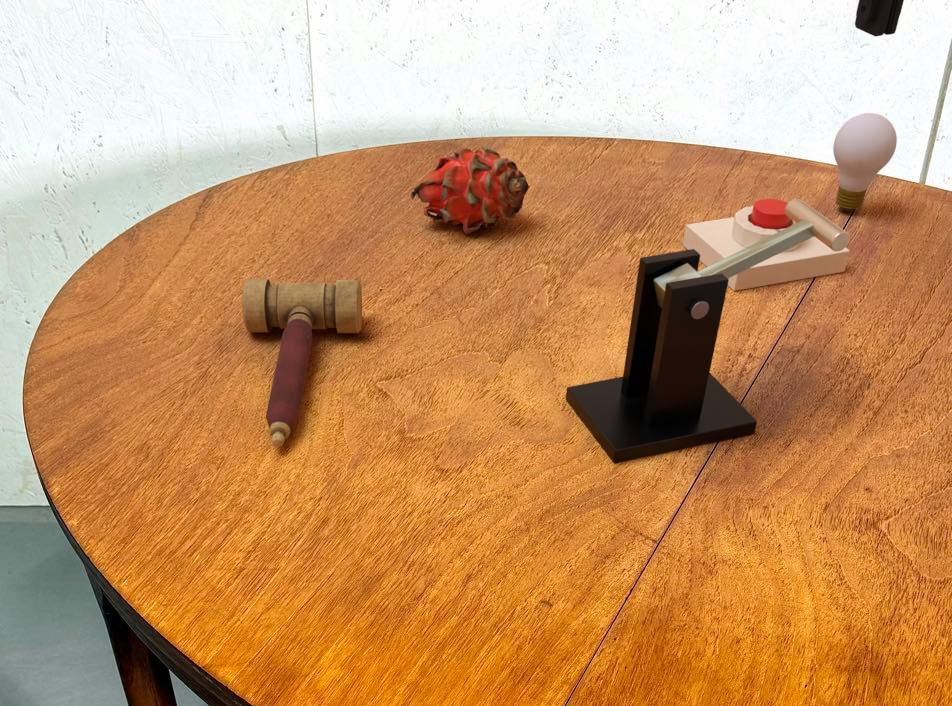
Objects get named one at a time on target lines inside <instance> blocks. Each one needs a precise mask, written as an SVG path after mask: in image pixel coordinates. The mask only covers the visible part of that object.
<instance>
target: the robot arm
mask: <svg viewBox="0 0 952 706" xmlns="http://www.w3.org/2000/svg"><path fill="white" fill-rule="evenodd" d="M904 1H905V0H858V3H857V8H856V13H855V21H854V26H855V28H856V29H857V30H860V31H862V32H864V33H867V34H869V35H871V36H873V37H881V36H883V35H886V36H888V35H889V36H890V35H894V34H895V33H896V32H897V27H898V23H899V21H900V16H901V13H902V9H903V5H904Z"/></svg>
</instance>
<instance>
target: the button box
mask: <svg viewBox="0 0 952 706" xmlns="http://www.w3.org/2000/svg"><path fill="white" fill-rule="evenodd" d="M753 206H754V205H749V206H744V207H743V208H741V209H739V210H738V211H736V212H735V214H734V216H731V217H725V218H720V219H713V220H706V221H701V222H695V223H693V222H692V223H688V224H685V227H684V234H683V239H682V246H683V247H684V248H685V249H686V250H691V249H695V250H696V251H697V252H698V253H699V254H700V260H699V262H701V263H702V264H703V265H704V266H705V267H708V266H710V265H712V264H714V263H716V262H718V261H720V260H722V259H724V258H726V257H728V256H731V255H733V254H735V253H737V252H739V251H741V250H743V249H745V248H747V247H749V246H751V245H753V244H755V243H757V242H759V241H761V240H763V239H765V238H767V237H769V236H772V235H774V234H776V233H778V232H780V231H782V230H784V229H778V230H775V229H764V228H761V227H758V226H755V225H753V224H752V223H751V222H750V220H751V215H752V211H753ZM794 224H796V222H794V221H793V220H792V219H791V220H790V224H789V227H790V226H792V225H794ZM785 229H786V228H785ZM850 253H851V250H850V249H849V248H847V246H846V247H845V248H844V249H843V250H841V251H833V250H832V249H831V248H829V247H828V246H827V245H825V244H824V243H823V242H821V241H820V240H819V239H817V238H816V237H815V236H814V237H812V238H810V239H808V240H806V241H804V242H801V243H799V244H797V245H795V246H793V247H791V248H789V249H787V250H785V251H783V252H781V253H779V254H777V255H775V256H773V257H771V258H769V259H767V260H765V261H763V262H760V263H758V264H756V265H754V266H752V267H750V268H748V269H746V270H744V271H742V272H740V273H738V274H736V275H734V276H732V277H730V278H728V279H729V281H728V286H727V287H729V288H730V289H731V290H732V291H733V292H737V291H743V290H748V289H754V288H759V287H766V286H772V285H777V284H783V283H789V282H793V281H794V282H795V281H800V280H804V279H805V280H807V279H810V278H811V279H812V278H816V277H817V278H818V277H821V276H828V275H833V274H839V273H840V274H841V273H844V272H845V271H846V267H847V264H848V261H849V258H850Z"/></svg>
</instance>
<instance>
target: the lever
mask: <svg viewBox="0 0 952 706" xmlns="http://www.w3.org/2000/svg"><path fill="white" fill-rule="evenodd" d="M787 203H788V204H787V206H786V208H785V214H786V216H788V217H789V218H790V219H792V220H793V221H794V222H796V224H794V225H792V226H790V227H788V228H786V229H784V230H782V231H780V232H778V233H776V234H774V235H772V236H769V237H767V238H765V239H763V240H761V241H759V242H757V243H755V244H753V245H751V246H749V247H747V248H745V249H743V250H741V251H739V252H737V253H735V254H733V255H731V256H728V257H726V258H724V259H722V260H720V261H718V262H716V263H714V264H712V265H710V266H708V267H707V266H705V267H704V268H702V269H700V270H697V271H696V270H695V269H694V268H693V267H691V266H690V265H689V264H688V263H686V264H684V265H682V266H680V267H678V268H676V269H674V270H672V271H670V272H668V273H666V274H664V275H661V276H659V277H657V278H655V279H654V280H653V281H654V286H655V291H656V296H657V301H658V305H659V306H660V308H661V309H662V306H663V300H664V294H665V288H666V283H669V282H675V281H681V280H686V279H692V278H698V277H704V276H710V275H716V274H723V275H724V276H725V277H726V278H727V279H728V278H730V277H732V276H734V275H736V274H738V273H740V272H742V271H744V270H746V269H748V268H750V267H752V266H754V265H756V264H758V263H760V262H763V261H765V260H767V259H769V258H771V257H773V256H775V255H777V254H779V253H781V252H783V251H785V250H787V249H789V248H791V247H793V246H795V245H797V244H799V243H801V242H804V241H806V240H808V239H810V238H812V237H814V236H815V237H816V238H817V239H819V240H820V241H821V242H823V243H824V244H825V245H827V246H828V247H829V248H831V249H832V250H833V251H841V250H843V249H844V248H845V247H846V248H847V246H848V245H849V243H850V240H851V237H850V234H849V233H848V232H847V231H846V230H844V229H843V228H842V227H840V226H838V225H837V224H835V223H834V222H833V221H832V220H830V219H829V218H827V217H826V216H825V215H823V214H822V213H820V212H819V211H817V210H816V209H815V208H814V207H812V206H810V205H809V204H808V203H806V202H805V201H804V200H802V199H801V198H793V199H791V200H789V202H787Z"/></svg>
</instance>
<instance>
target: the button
mask: <svg viewBox="0 0 952 706" xmlns="http://www.w3.org/2000/svg"><path fill="white" fill-rule="evenodd" d="M788 203H789V202H787V201H785V200H781V199H777V198H761V199H758V200H756V201H755V202H754V203H753V205H752V206H753V211H752V215H751V220H750V222H751V223H752V224H753V225H755V226H758V227H761V228H764V229H775V230H778V229H785V228H788V227H789V224H790V220H791V219H790V218H789V217H788V216H786V214H785V208H786V206H787V204H788Z"/></svg>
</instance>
